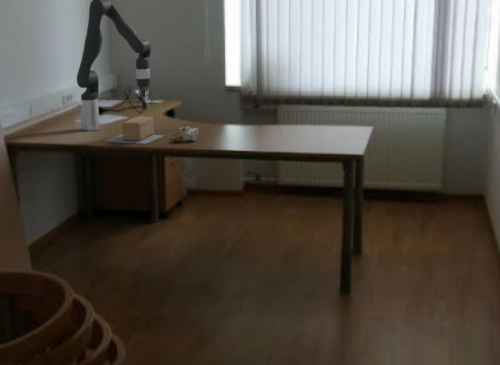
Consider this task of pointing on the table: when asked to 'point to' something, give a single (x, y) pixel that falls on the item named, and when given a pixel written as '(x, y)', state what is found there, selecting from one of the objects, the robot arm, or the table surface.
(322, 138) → the table surface
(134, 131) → the wooden block
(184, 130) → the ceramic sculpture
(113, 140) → the mat
